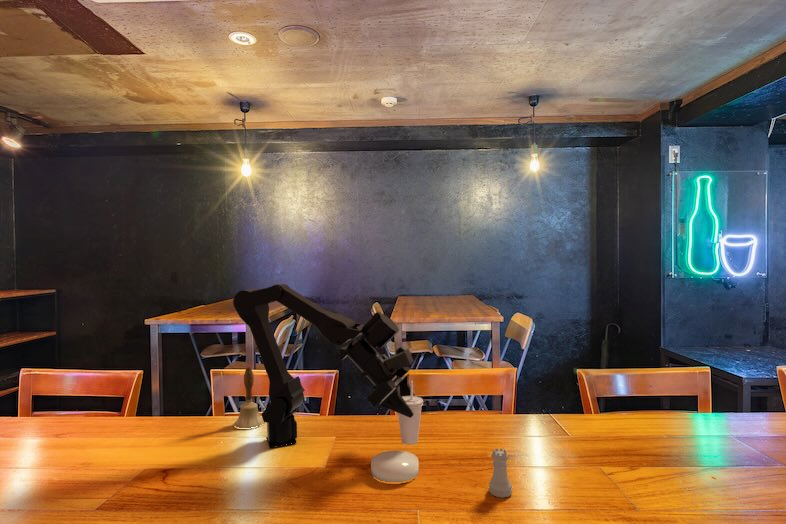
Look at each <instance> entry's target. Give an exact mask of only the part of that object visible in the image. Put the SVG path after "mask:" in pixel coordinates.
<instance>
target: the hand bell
mask: <svg viewBox="0 0 786 524" xmlns="http://www.w3.org/2000/svg"><path fill="white" fill-rule="evenodd" d="M253 372H254V371H253V369H252V367H251V366H246V367H245V371H244V374H243V383H244V387H245V402H243V404H241V405H240V410H239V415H238V416H237V417H238V418H237V419H236V421H235V422H233V425H234V426H236V427H239V428H251V427H256V426H260V425H262V424H264V425H265V423H266V422H264V421H263V418H262V416H261V414H260V413H259V408H258V404H257V403H255V402H253V386H254V380H255V379H254V378H255V377H254V373H253Z"/></svg>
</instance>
